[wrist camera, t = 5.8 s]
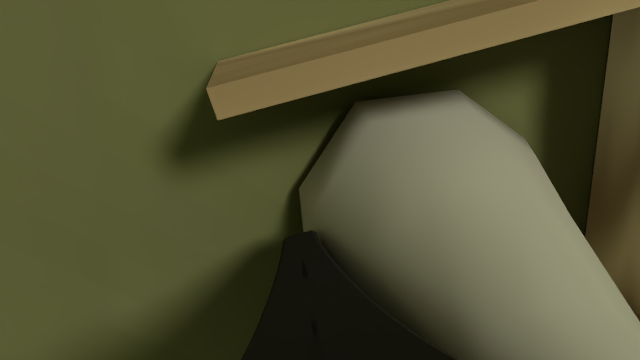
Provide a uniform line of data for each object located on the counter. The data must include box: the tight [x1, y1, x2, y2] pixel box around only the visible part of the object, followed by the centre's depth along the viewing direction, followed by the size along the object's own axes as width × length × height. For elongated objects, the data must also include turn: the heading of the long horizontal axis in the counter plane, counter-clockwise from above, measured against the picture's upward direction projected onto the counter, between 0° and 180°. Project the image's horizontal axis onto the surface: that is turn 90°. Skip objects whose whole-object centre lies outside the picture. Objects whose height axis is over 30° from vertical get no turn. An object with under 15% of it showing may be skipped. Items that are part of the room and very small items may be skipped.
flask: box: [299, 89, 640, 360], centre depth 8 cm, size 7×7×10 cm
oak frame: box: [206, 0, 640, 321], centre depth 11 cm, size 11×11×3 cm
